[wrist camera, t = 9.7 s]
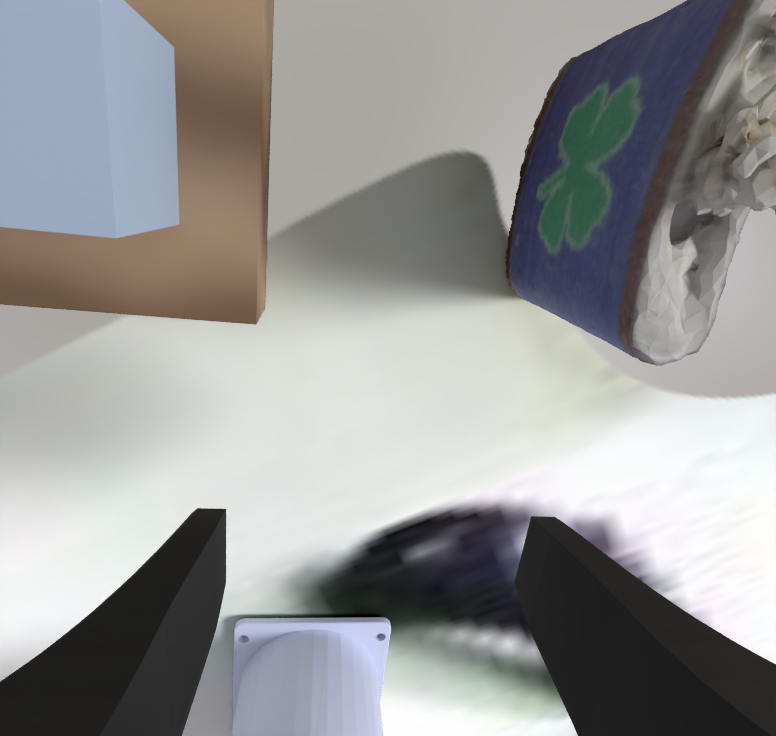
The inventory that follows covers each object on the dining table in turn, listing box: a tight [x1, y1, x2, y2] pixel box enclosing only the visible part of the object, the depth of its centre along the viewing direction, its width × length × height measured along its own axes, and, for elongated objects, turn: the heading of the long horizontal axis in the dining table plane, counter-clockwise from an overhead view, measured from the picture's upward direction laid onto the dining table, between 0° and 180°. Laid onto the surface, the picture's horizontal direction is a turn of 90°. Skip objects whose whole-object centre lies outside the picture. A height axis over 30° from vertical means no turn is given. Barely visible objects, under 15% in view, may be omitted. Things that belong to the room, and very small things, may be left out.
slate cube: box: [0, 0, 179, 238], centre depth 12 cm, size 5×5×5 cm
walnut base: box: [0, 0, 274, 324], centre depth 16 cm, size 12×10×2 cm
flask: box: [505, 0, 776, 365], centre depth 14 cm, size 9×3×11 cm, turn 169°
